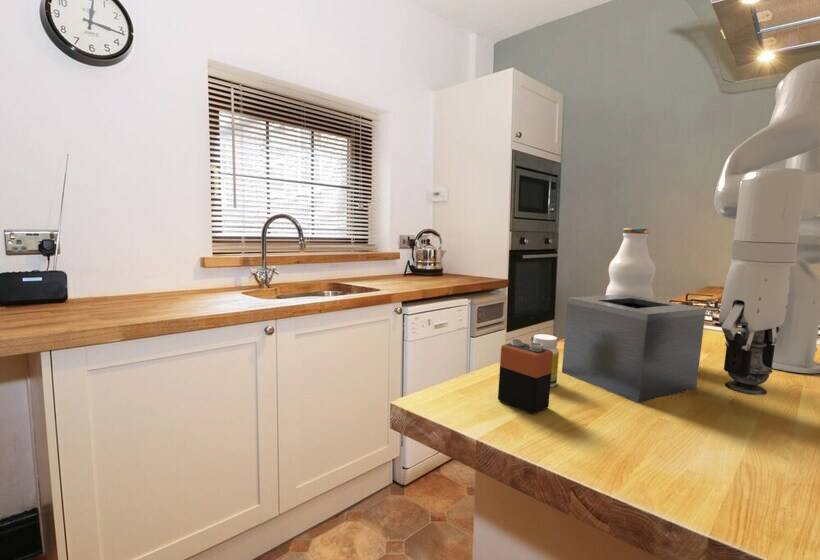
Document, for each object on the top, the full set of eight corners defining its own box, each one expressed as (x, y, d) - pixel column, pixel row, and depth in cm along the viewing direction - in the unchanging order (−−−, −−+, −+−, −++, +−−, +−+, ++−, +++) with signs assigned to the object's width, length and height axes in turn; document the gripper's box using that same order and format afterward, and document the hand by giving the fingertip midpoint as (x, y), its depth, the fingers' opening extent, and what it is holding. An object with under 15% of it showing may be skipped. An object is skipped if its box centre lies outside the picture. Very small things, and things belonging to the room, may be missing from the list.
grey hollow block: (617, 362, 92) (623, 294, 91) (696, 388, 78) (705, 308, 77) (561, 372, 85) (567, 297, 83) (638, 402, 71) (647, 314, 69)
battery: (533, 415, 65) (538, 349, 64) (496, 400, 70) (500, 339, 69) (549, 408, 68) (554, 344, 66) (512, 394, 73) (517, 335, 71)
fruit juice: (618, 362, 92) (632, 228, 89) (591, 350, 101) (602, 227, 98) (657, 361, 94) (671, 229, 91) (626, 349, 104) (639, 228, 100)
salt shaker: (778, 398, 65) (789, 318, 64) (733, 394, 67) (743, 316, 65) (756, 383, 71) (765, 310, 69) (715, 380, 72) (723, 308, 71)
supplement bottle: (557, 381, 80) (561, 335, 79) (554, 389, 76) (558, 341, 74) (530, 376, 82) (534, 332, 81) (526, 384, 78) (529, 337, 76)
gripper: (763, 251, 73) (749, 356, 76) (703, 253, 65) (690, 371, 68) (821, 254, 67) (803, 369, 69) (762, 258, 59) (745, 388, 61)
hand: (747, 369), depth 68 cm, fingers closed on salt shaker, 5 cm apart
